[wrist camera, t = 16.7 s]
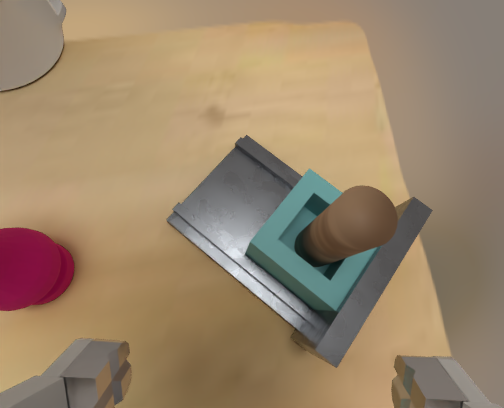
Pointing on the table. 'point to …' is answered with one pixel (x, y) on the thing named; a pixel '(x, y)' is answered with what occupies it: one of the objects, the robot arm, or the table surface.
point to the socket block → (293, 266)
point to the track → (250, 222)
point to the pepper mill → (31, 268)
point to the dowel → (348, 227)
